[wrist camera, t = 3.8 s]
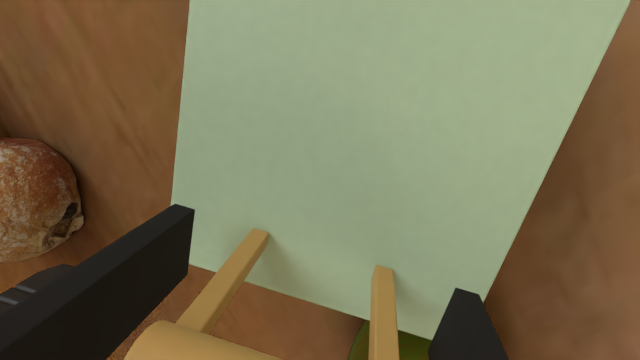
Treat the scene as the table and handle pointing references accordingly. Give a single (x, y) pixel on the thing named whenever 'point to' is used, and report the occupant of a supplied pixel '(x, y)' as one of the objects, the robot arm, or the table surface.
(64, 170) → the bread roll
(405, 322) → the lid
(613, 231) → the table surface
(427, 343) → the apple
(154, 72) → the table surface
